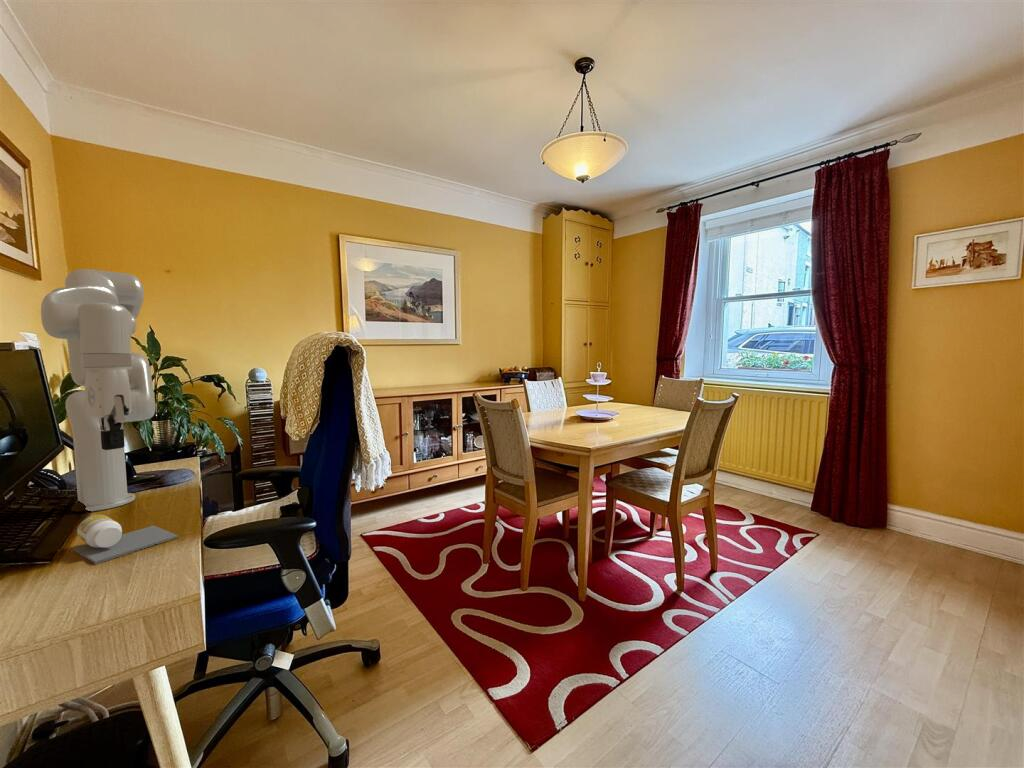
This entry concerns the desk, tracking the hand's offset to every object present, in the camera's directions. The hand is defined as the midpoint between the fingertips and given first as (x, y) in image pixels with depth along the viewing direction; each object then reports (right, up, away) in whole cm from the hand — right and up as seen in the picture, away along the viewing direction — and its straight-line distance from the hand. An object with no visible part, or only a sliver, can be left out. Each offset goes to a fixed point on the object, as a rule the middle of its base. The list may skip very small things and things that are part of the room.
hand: (113, 448), depth 87 cm
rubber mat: (+4, -20, -1) cm, 21 cm away
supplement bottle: (-4, -17, 0) cm, 17 cm away
